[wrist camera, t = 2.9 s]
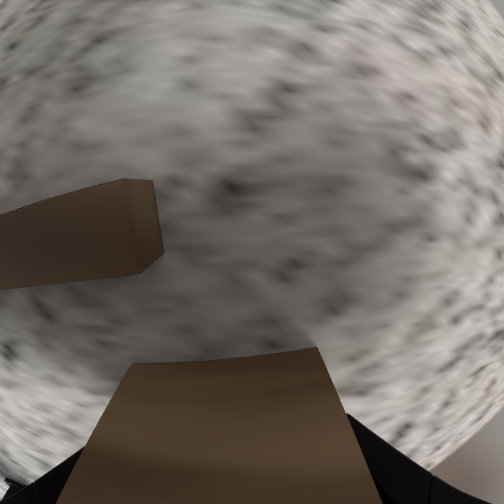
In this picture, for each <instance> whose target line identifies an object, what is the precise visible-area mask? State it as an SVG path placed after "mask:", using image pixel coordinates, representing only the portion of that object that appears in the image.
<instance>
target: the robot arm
mask: <svg viewBox="0 0 504 504" xmlns="http://www.w3.org/2000/svg"><path fill="white" fill-rule="evenodd" d="M346 415H347V418H348V420H349V422H350V425H351V427H352V430H353V432H354V434H355V437H356V439H357V442H358V444H359V447H360V449H361V451H362V454H363V456H364V459H365V461H366V464H367V466H368V469H369V471H370V474H371V476H372V479H373V481H374V484H375V486H376V489H377V491H378V494H379V496H380V499H381V501H382V504H491V503H489V502H486V501H483V500H481V499H478V498H476V497H473V496H471V495H469V494H467V493H465V492H462V491H460V490H458V489H456V488H455V487H453V486H451V485H449V484H448V483H446V482H444V481H443V480H441V479H439V478H438V477H437V476H435V475H434V476H432V473H430V472H429V471H427V470H426V469H424V468H423V467H421V466H420V465H418V464H417V463H415V462H414V461H412V460H411V459H410V458H408V457H407V456H405V455H404V454H402V453H401V452H400V451H398V450H397V449H395V448H394V447H393V446H391V445H390V444H388V443H387V442H386V441H384V440H383V439H382V438H380V437H379V436H378V435H376V434H375V433H373V432H372V431H371V430H369V429H368V428H367V427H365V426H364V425H363V424H362V423H360V422H359V421H358V420H356V419H355V418H354V417H352V416H351V415H350V414H348V413H346ZM84 447H85V446H84ZM84 447H83V448H81V449H80V450H79V451H77V452H76V453H74V454H73V455H72V456H70V457H69V458H68V459H66V460H65V461H63V462H62V463H60V464H59V465H58V466H56V467H55V468H53V469H52V470H50V471H49V472H47V473H46V474H45V475H43V476H42V477H40V478H39V479H37V480H36V481H34V482H33V483H31V484H30V485H28V486H26V487H24V486H22V485H20V484H18V483H16V482H14V481H12V480H10V479H8V478H5V480H4V481H5V482H6V483H7V484H8V485H9V486H10V487H9V489H8V490H7V492H6V494H5V495H4V497H3V499H2V500H1V501H0V504H56V503H57V501H58V498H59V496H60V494H61V492H62V490H63V488H64V486H65V484H66V482H67V480H68V478H69V476H70V474H71V472H72V470H73V468H74V466H75V465H76V463H77V461H78V459H79V457H80V455H81V453H82V451H83V449H84Z"/></svg>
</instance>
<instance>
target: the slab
mask: <svg viewBox="0 0 504 504" xmlns="http://www.w3.org/2000/svg"><path fill="white" fill-rule="evenodd" d="M56 504H382V501H381V499H380V496H379V494H378V491H377V489H376V486H375V484H374V481H373V479H372V476H371V474H370V471H369V469H368V466H367V464H366V461H365V459H364V456H363V454H362V451H361V449H360V447H359V444H358V442H357V439H356V437H355V434H354V432H353V430H352V427H351V425H350V422H349V420H348V418H347V415H346V413H345V410H344V408H343V406H342V403H341V401H340V399H339V396H338V394H337V392H336V389H335V387H334V385H333V382H332V380H331V378H330V375H329V373H328V371H327V368H326V366H325V364H324V361H323V359H322V357H321V354H320V352H319V350H318V348H317V347H315V348H309V349H303V350H297V351H290V352H284V353H276V354H269V355H261V356H252V357H243V358H234V359H223V360H211V361H196V362H178V363H149V364H131V366H130V368H129V369H128V371H127V373H126V374H125V376H124V378H123V379H122V381H121V383H120V385H119V386H118V388H117V390H116V392H115V393H114V395H113V397H112V399H111V400H110V402H109V404H108V406H107V407H106V409H105V411H104V413H103V414H102V416H101V418H100V420H99V422H98V423H97V425H96V427H95V429H94V431H93V433H92V434H91V436H90V438H89V440H88V442H87V444H86V446H85V447H84V449H83V451H82V453H81V455H80V457H79V459H78V461H77V463H76V465H75V466H74V468H73V470H72V472H71V474H70V476H69V478H68V480H67V482H66V484H65V486H64V488H63V490H62V492H61V494H60V496H59V498H58V501H57V503H56Z"/></svg>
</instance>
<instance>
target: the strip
mask: <svg viewBox="0 0 504 504" xmlns="http://www.w3.org/2000/svg"><path fill="white" fill-rule="evenodd" d="M163 254H164V250H163V244H162V238H161V232H160V226H159V220H158V214H157V207H156V200H155V193H154V186H153V180H138V179H120V180H115V181H111V182H107V183H103V184H99V185H95V186H92V187H88V188H84V189H80V190H77V191H73V192H70V193H66V194H63V195H59V196H56V197H53V198H49V199H46V200H43V201H40V202H37V203H34V204H31V205H28V206H25V207H22V208H19V209H16V210H13V211H11V212H8V213H5V214H2V215H0V290H3V289H12V288H21V287H30V286H39V285H48V284H57V283H66V282H75V281H84V280H92V279H101V278H110V277H118V276H126V275H135V274H140V273H141V272H142V271H144V270H145V269H146V268H147V267H148V266H150V265H151V264H152V263H153V262H154V261H156V260H157V259H158V258H159V257H160V256H162V255H163Z"/></svg>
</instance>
